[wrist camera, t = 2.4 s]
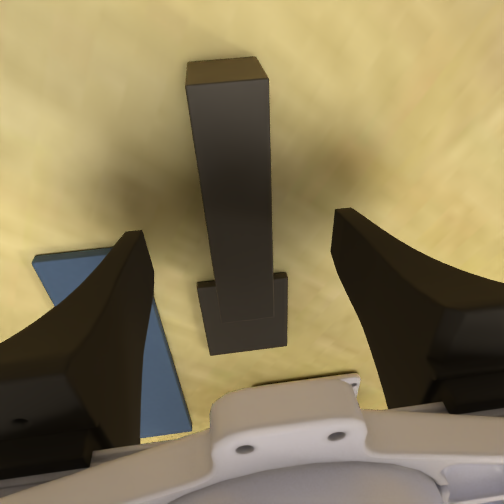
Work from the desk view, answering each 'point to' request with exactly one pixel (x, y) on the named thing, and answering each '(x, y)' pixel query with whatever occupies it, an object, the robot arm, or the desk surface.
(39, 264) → the blue board
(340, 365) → the desk surface
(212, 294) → the tall dark brown pillar
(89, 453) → the robot arm
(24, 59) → the desk surface
